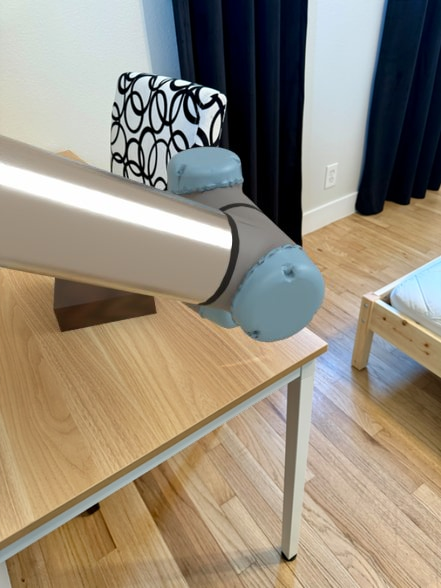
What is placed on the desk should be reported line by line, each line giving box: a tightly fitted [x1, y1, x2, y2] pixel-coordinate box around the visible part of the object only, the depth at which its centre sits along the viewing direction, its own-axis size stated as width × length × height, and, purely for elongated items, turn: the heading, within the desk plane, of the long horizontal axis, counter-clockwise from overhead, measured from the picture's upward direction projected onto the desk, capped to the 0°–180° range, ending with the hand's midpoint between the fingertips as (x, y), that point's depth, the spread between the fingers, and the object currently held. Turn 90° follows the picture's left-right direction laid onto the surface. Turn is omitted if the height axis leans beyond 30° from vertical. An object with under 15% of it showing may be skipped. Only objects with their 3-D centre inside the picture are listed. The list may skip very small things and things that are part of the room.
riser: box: [52, 278, 157, 333], centre depth 77 cm, size 16×14×5 cm
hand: (69, 203), depth 70 cm, fingers closed on box, 4 cm apart
